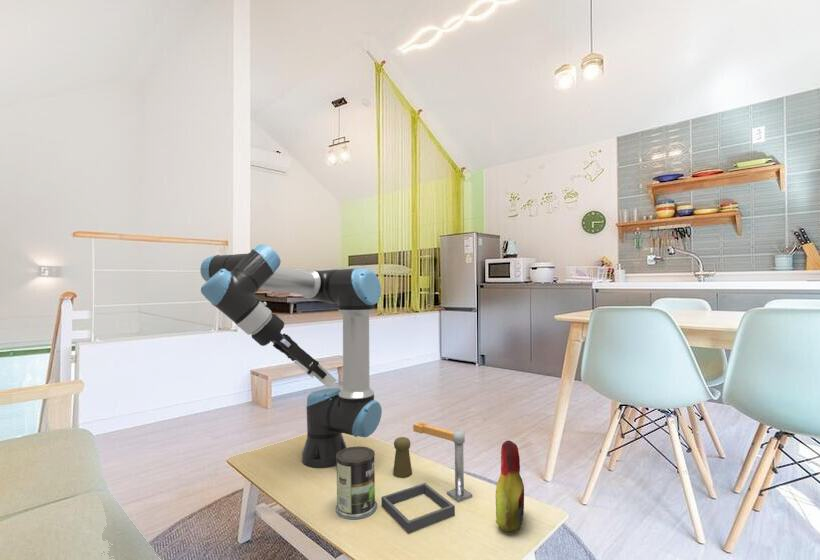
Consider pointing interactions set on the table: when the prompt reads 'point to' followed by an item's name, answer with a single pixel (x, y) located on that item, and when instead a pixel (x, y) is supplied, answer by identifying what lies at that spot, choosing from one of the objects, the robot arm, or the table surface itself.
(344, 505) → the coffee can
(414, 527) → the square picture frame
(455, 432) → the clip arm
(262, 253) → the robot arm
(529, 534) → the table surface
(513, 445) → the bottle
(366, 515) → the slate coaster
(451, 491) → the post
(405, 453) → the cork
